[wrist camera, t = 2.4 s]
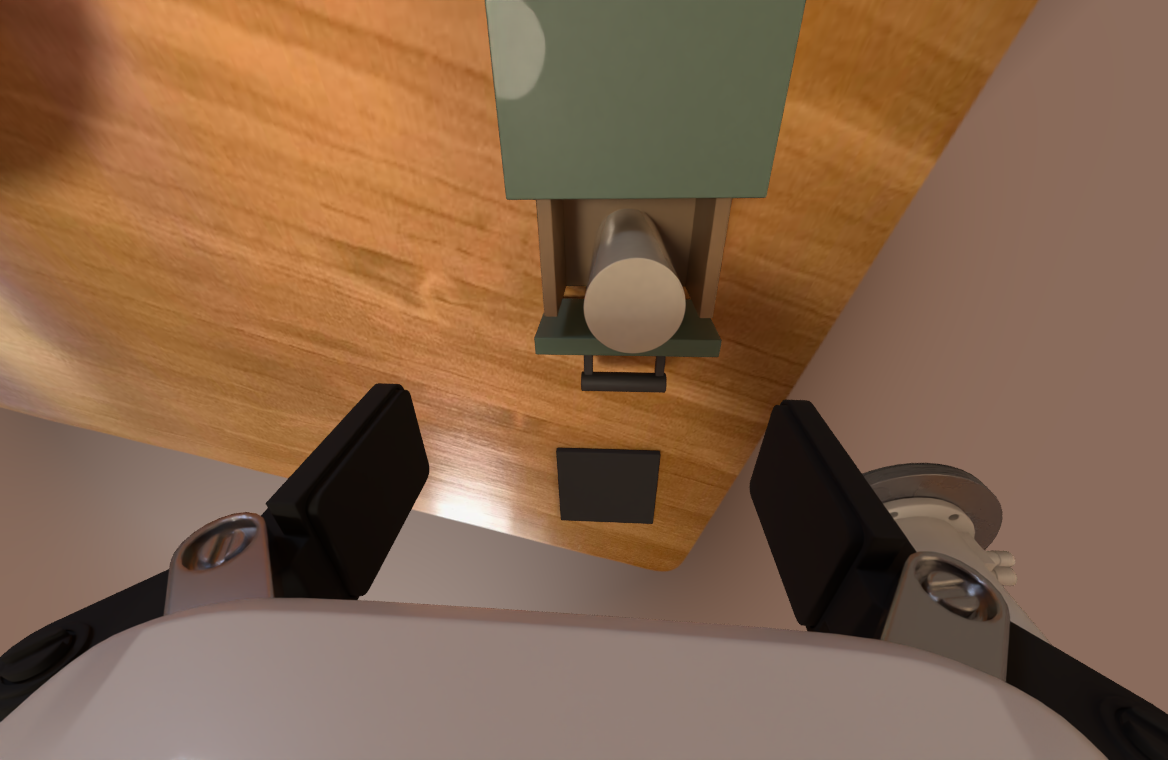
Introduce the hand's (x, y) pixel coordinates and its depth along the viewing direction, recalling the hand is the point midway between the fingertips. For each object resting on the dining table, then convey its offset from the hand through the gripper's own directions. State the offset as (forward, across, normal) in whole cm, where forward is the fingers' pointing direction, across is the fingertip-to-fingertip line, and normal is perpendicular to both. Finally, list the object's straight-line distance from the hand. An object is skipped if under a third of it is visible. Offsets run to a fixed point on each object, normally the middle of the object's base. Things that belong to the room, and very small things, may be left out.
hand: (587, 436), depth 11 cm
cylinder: (+20, -2, 0) cm, 20 cm away
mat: (+22, -1, +25) cm, 33 cm away
